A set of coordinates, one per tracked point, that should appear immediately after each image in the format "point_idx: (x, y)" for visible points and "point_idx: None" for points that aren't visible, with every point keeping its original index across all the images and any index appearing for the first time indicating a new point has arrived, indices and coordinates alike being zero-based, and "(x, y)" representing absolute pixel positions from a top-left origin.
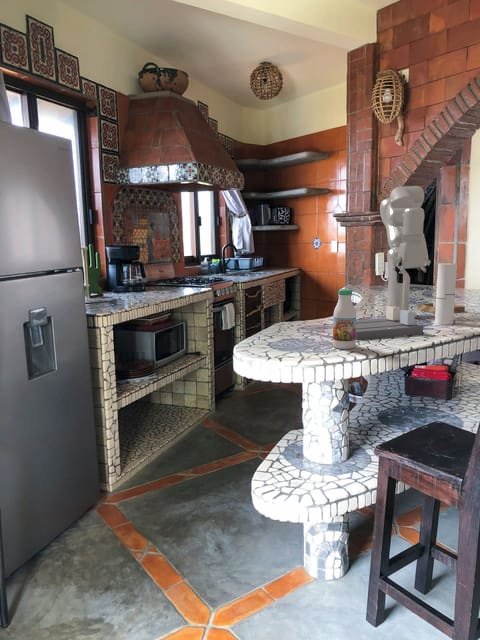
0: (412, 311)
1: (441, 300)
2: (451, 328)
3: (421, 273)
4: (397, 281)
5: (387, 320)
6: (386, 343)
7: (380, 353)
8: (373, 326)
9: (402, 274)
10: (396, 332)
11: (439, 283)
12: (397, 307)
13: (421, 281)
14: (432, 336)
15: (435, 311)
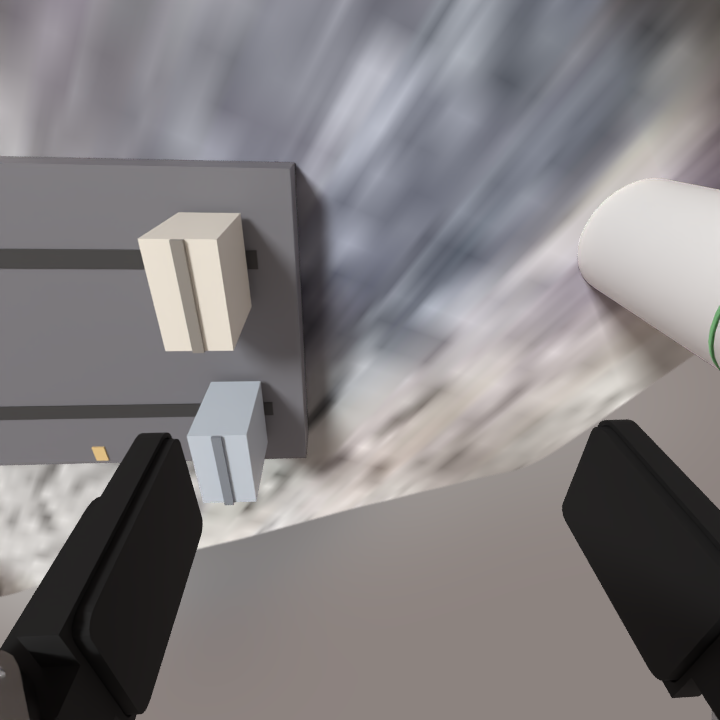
0: (246, 490)
1: (696, 338)
2: (532, 372)
3: (659, 643)
4: (137, 458)
5: None
6: (68, 510)
7: (9, 590)
8: (17, 388)
9: (124, 706)
10: None
11: None
12: (221, 330)
13: (567, 503)
14: (322, 470)
15: (655, 223)
